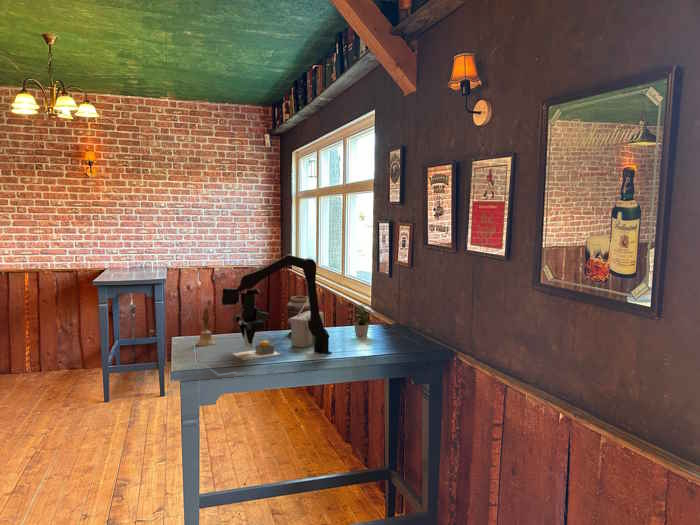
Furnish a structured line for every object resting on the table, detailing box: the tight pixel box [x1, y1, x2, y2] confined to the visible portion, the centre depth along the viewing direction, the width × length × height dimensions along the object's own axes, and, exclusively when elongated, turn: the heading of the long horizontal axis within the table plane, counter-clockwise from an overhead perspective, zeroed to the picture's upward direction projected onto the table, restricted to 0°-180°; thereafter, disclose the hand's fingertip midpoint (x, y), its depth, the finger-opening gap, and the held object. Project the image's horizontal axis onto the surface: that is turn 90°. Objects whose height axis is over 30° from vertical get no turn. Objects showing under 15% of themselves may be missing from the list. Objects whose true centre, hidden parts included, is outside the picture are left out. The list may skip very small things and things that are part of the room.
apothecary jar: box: [286, 295, 310, 335], centre depth 251 cm, size 12×12×18 cm
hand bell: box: [196, 307, 217, 347], centre depth 229 cm, size 8×8×16 cm
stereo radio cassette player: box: [289, 299, 325, 349], centre depth 232 cm, size 21×8×20 cm, turn 161°
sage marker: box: [243, 327, 253, 348], centre depth 212 cm, size 3×3×8 cm
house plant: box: [348, 304, 374, 339], centre depth 247 cm, size 14×14×16 cm
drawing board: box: [232, 349, 280, 361], centre depth 211 cm, size 11×16×1 cm
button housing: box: [255, 342, 275, 355], centre depth 214 cm, size 6×6×3 cm
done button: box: [259, 340, 270, 347], centre depth 214 cm, size 4×4×2 cm
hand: (248, 342), depth 212 cm, fingers closed on sage marker, 3 cm apart
